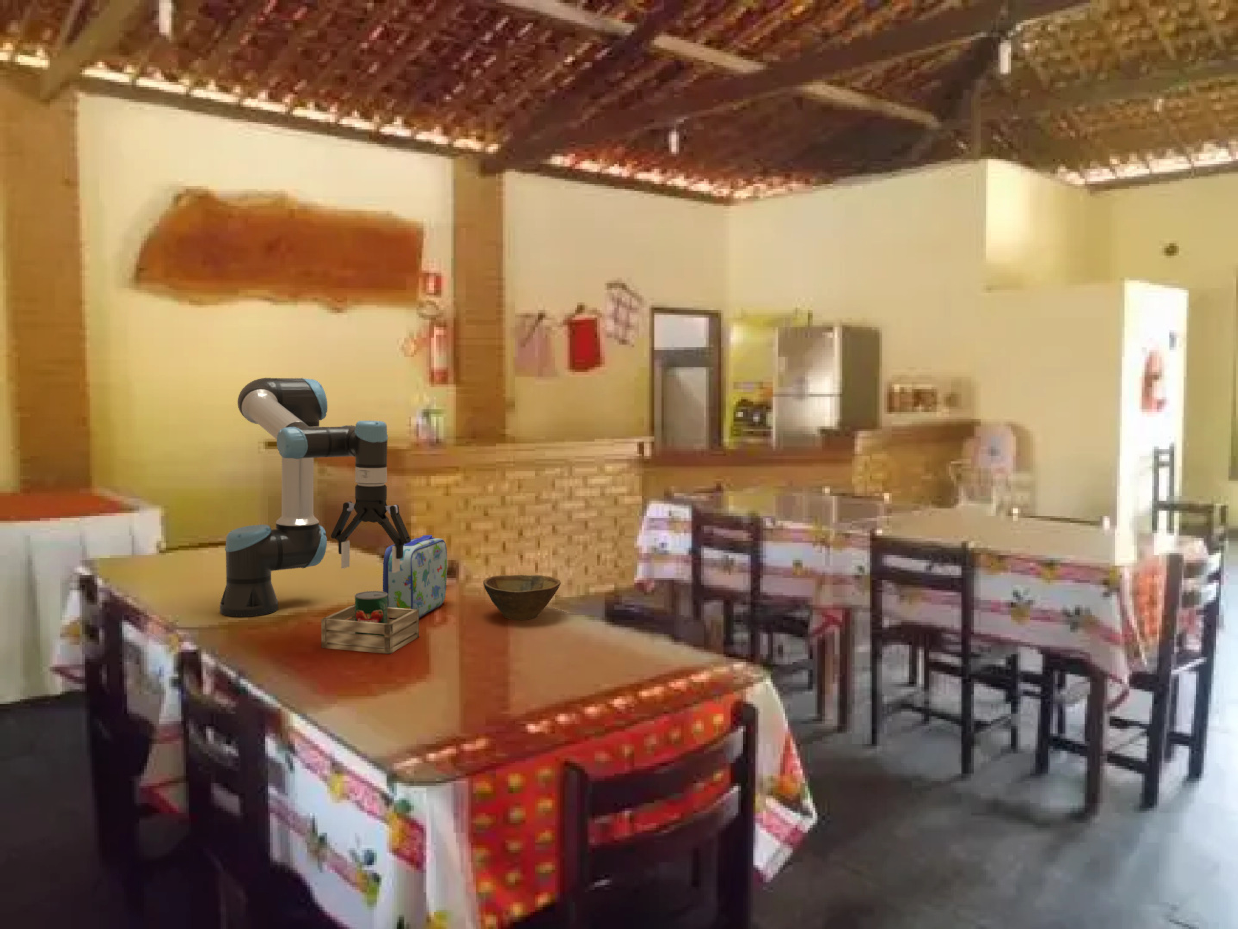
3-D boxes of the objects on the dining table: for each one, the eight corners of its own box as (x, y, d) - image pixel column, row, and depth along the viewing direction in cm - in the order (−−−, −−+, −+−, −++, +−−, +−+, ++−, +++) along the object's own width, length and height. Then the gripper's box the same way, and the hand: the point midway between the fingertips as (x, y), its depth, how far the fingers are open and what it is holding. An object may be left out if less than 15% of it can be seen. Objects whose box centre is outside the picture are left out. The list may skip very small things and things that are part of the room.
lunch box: (416, 600, 280) (417, 530, 278) (451, 602, 278) (451, 532, 276) (377, 621, 255) (377, 544, 253) (414, 624, 253) (414, 546, 251)
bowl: (575, 612, 269) (576, 577, 268) (535, 630, 249) (535, 593, 248) (509, 603, 278) (510, 570, 278) (465, 620, 258) (465, 584, 257)
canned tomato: (358, 643, 229) (358, 599, 228) (351, 636, 236) (351, 592, 235) (391, 640, 233) (391, 596, 232) (383, 632, 240) (383, 589, 239)
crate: (321, 647, 229) (321, 619, 228) (354, 631, 244) (354, 604, 244) (389, 653, 225) (389, 625, 224) (418, 636, 240) (418, 609, 240)
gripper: (316, 482, 230) (316, 568, 232) (411, 488, 225) (410, 576, 227) (332, 479, 238) (332, 562, 240) (424, 485, 232) (423, 570, 234)
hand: (370, 569), depth 233 cm, fingers open, 13 cm apart
